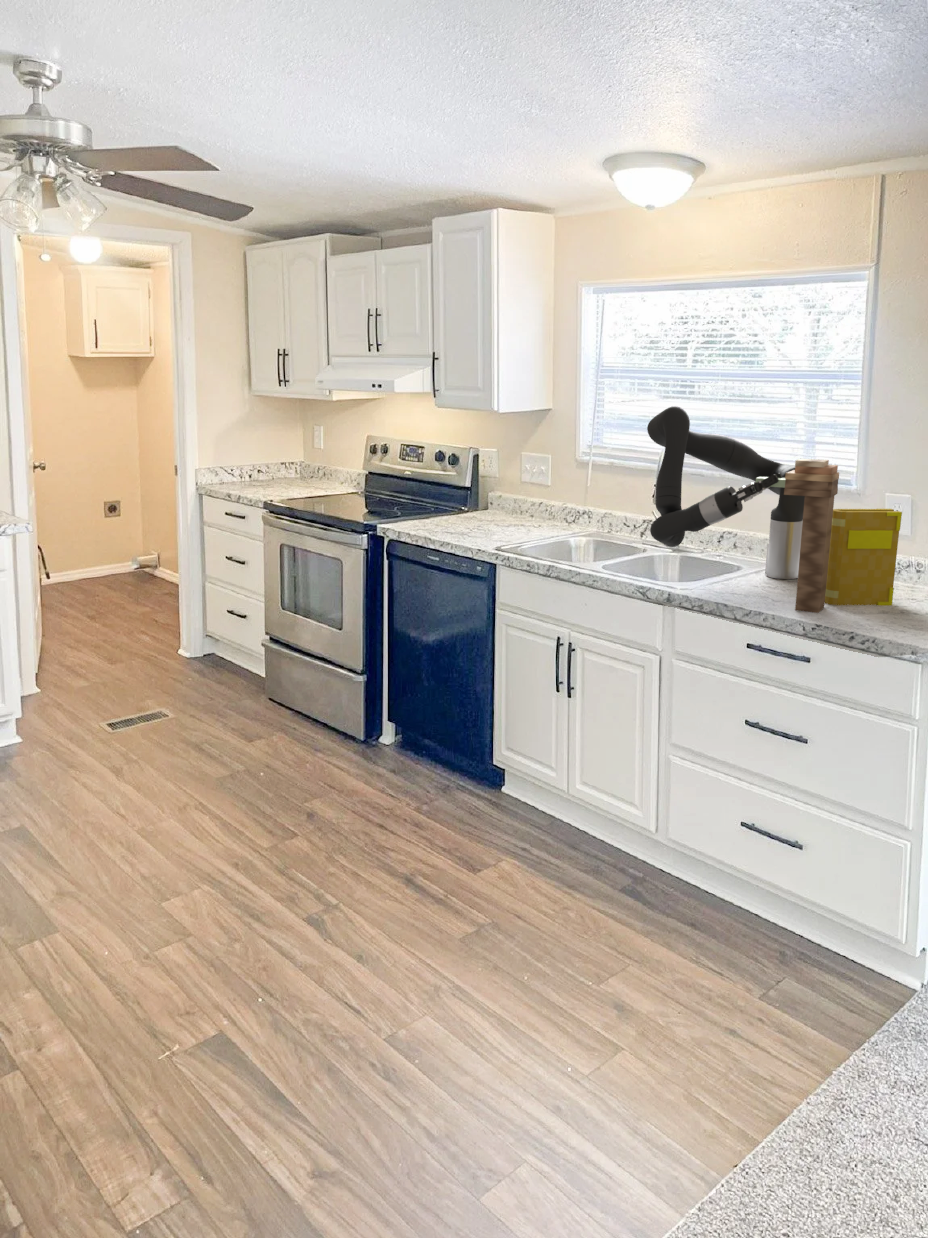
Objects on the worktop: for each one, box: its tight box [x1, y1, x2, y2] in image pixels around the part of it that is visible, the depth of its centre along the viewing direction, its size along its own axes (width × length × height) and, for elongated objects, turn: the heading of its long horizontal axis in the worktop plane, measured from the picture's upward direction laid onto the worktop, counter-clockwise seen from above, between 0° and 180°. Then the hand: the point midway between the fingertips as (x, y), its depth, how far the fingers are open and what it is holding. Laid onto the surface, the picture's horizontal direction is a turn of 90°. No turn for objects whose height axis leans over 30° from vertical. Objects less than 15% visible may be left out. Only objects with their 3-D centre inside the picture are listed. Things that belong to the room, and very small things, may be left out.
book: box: [825, 508, 903, 607], centre depth 278 cm, size 17×7×25 cm, turn 92°
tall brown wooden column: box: [784, 458, 840, 614], centre depth 270 cm, size 12×9×39 cm
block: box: [756, 477, 786, 488], centre depth 269 cm, size 18×4×2 cm, turn 61°
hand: (779, 477), depth 270 cm, fingers closed on block, 4 cm apart
